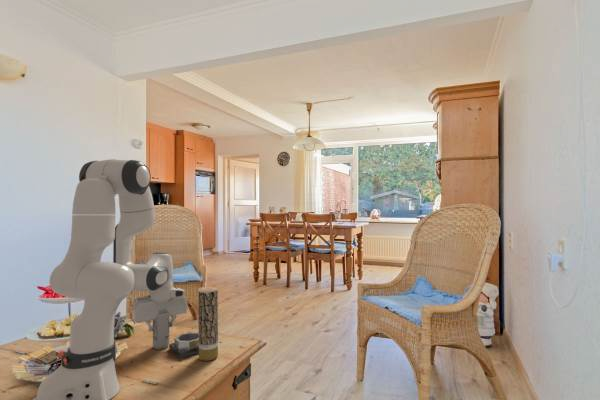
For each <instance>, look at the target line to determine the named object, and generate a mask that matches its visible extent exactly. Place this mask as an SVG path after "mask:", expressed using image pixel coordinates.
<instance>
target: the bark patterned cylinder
mask: <svg viewBox="0 0 600 400" xmlns="http://www.w3.org/2000/svg"><path fill="white" fill-rule="evenodd" d="M198 332H199V354H198V358H199V360H200V361H203V362H209V361H213V360H215V359H216V358H217V357H218V356H219V289H218V286H203V287H199V288H198Z"/></svg>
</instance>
